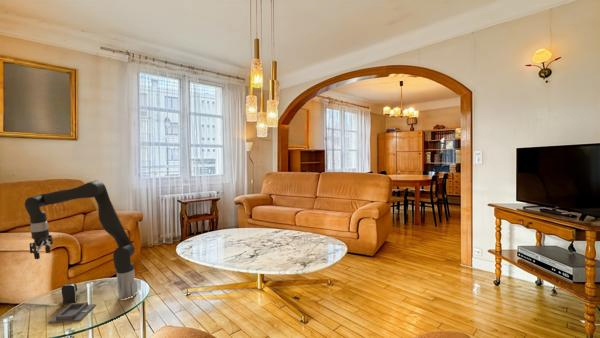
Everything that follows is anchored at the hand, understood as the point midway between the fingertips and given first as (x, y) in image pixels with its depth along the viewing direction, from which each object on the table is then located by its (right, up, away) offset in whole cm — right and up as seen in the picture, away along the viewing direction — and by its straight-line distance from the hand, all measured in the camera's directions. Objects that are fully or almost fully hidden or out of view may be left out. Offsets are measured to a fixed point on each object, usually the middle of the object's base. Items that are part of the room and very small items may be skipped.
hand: (42, 255), depth 167 cm
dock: (+24, -30, -8) cm, 40 cm away
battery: (+14, -29, +4) cm, 32 cm away
